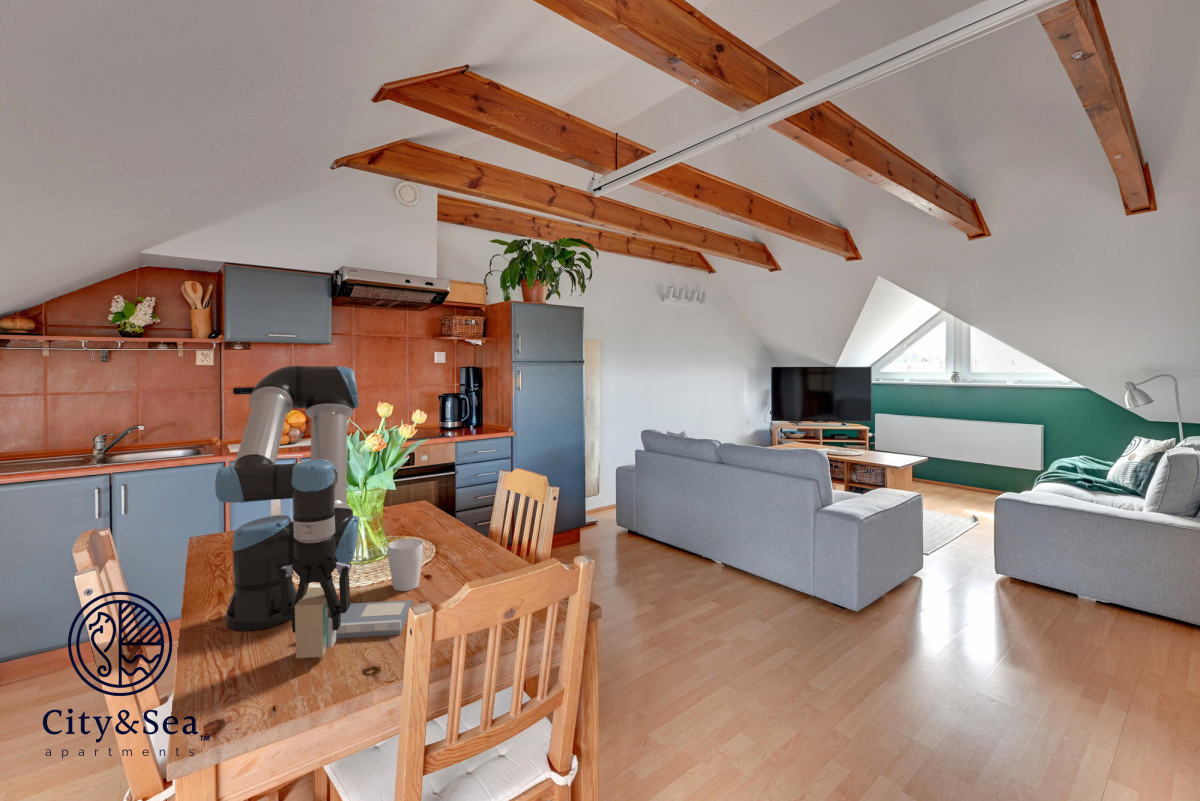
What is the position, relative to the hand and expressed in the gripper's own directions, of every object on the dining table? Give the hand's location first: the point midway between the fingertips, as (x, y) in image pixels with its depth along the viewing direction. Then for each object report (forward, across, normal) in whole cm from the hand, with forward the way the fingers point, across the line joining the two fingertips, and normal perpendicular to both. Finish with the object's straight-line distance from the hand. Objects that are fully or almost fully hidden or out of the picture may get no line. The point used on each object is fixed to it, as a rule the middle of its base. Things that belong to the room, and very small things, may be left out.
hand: (317, 644), depth 110 cm
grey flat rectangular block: (+3, +5, +14) cm, 15 cm away
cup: (+3, +11, +34) cm, 36 cm away
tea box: (0, 0, 0) cm, 0 cm away
